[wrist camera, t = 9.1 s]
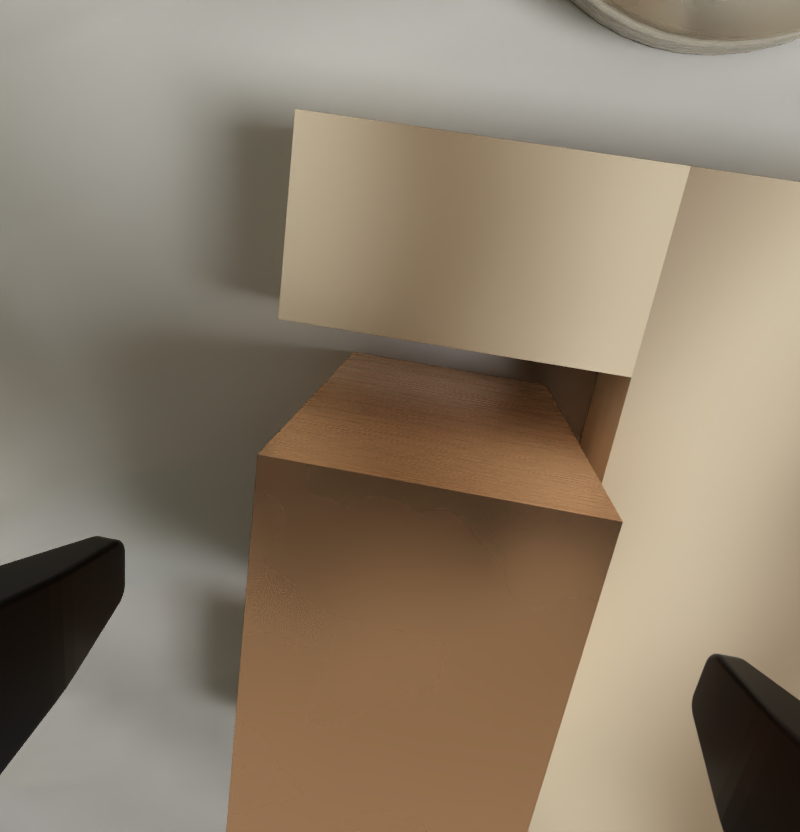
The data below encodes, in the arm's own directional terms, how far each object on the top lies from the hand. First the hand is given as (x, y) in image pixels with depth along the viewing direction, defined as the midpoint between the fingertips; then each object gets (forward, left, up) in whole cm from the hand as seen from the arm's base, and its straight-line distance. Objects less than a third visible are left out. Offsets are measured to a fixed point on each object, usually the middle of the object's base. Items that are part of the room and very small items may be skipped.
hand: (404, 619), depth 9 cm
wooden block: (0, 0, -4) cm, 4 cm away
